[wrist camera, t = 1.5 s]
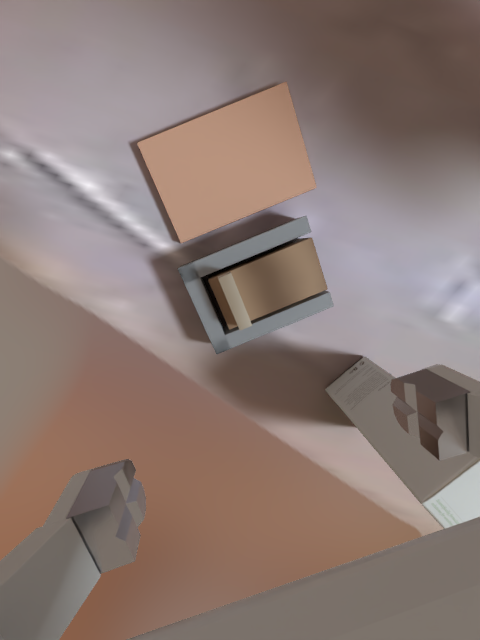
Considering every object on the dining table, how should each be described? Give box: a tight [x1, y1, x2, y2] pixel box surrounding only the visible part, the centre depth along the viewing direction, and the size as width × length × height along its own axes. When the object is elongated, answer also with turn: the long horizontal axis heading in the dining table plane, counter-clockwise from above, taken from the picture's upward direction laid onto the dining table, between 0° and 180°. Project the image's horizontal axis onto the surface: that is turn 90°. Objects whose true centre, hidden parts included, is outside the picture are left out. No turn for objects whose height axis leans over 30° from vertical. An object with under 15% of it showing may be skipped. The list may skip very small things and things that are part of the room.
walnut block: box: [208, 238, 327, 330], centre depth 27 cm, size 10×5×6 cm, turn 112°
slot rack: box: [178, 216, 334, 354], centre depth 28 cm, size 12×9×3 cm
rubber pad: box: [137, 82, 316, 243], centre depth 26 cm, size 14×9×1 cm, turn 112°
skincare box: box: [325, 357, 480, 529], centre depth 27 cm, size 8×7×16 cm
